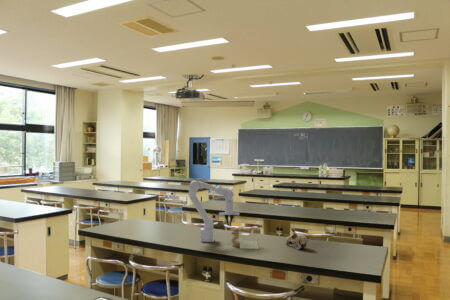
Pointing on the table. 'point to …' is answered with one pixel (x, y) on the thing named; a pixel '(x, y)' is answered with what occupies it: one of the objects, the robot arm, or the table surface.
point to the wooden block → (234, 237)
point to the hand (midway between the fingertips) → (229, 225)
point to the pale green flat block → (248, 244)
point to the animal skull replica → (297, 241)
